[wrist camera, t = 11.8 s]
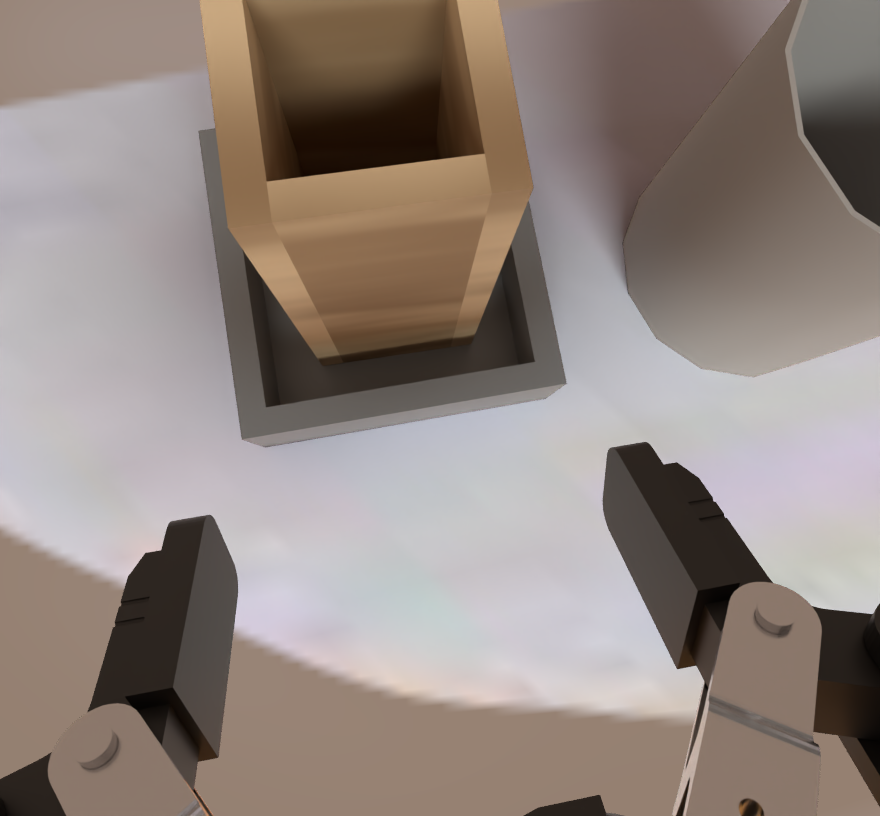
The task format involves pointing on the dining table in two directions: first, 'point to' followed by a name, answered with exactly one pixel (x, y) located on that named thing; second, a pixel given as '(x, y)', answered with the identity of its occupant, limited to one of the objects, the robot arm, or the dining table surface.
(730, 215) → the cup
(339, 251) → the oak crate
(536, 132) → the dining table surface
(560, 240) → the dining table surface
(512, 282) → the tray
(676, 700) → the dining table surface
